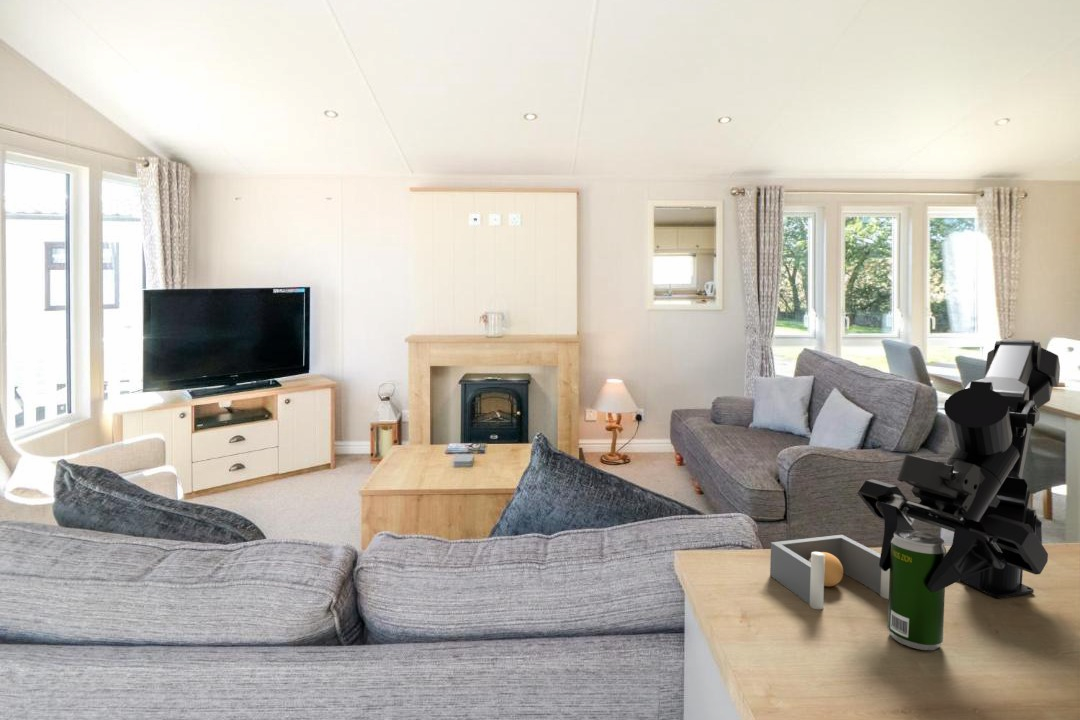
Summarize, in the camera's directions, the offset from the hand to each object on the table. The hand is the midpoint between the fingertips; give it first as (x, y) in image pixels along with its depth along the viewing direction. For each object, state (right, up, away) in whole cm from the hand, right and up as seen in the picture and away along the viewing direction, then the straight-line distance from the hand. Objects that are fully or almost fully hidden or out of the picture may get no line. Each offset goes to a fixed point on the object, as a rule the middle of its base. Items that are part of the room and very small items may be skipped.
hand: (905, 579), depth 65 cm
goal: (-2, -6, +14) cm, 16 cm away
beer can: (+2, -8, +1) cm, 8 cm away
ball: (-2, -3, +16) cm, 17 cm away
